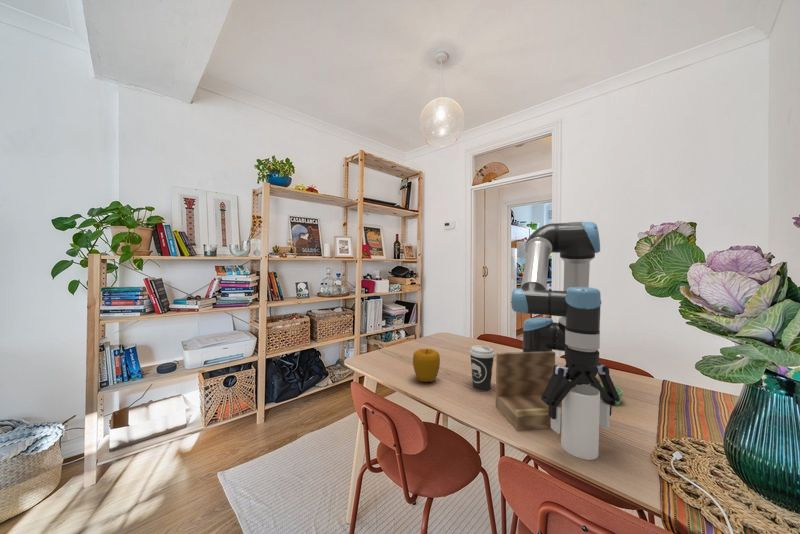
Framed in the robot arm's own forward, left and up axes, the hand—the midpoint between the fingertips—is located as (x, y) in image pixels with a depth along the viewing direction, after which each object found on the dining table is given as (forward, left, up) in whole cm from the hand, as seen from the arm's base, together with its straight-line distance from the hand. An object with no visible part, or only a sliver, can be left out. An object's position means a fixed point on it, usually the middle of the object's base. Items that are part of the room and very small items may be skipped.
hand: (579, 429), depth 73 cm
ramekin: (-29, -23, -6) cm, 38 cm away
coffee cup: (+11, -37, -6) cm, 39 cm away
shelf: (+2, -16, -5) cm, 17 cm away
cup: (0, 0, -6) cm, 6 cm away
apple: (+31, -45, -6) cm, 55 cm away
